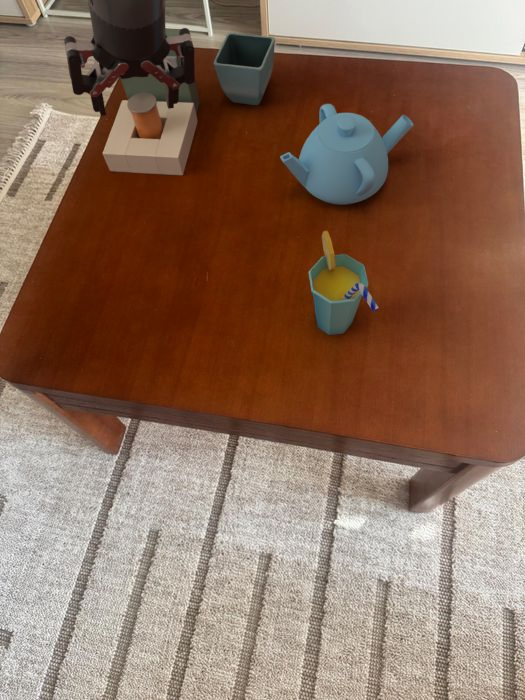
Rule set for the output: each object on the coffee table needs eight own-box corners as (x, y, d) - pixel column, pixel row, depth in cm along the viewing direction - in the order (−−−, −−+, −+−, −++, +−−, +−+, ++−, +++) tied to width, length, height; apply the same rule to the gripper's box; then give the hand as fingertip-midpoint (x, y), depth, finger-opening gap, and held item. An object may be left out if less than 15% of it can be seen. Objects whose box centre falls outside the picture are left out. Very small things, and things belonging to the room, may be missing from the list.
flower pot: (233, 77, 101) (227, 31, 93) (278, 82, 99) (275, 36, 91) (219, 108, 97) (212, 63, 89) (265, 114, 96) (262, 69, 88)
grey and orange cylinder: (146, 158, 93) (131, 116, 85) (139, 141, 95) (123, 97, 87) (172, 150, 93) (159, 106, 85) (164, 132, 95) (151, 88, 87)
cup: (387, 349, 73) (406, 291, 60) (339, 374, 72) (348, 321, 59) (334, 277, 79) (341, 209, 66) (289, 299, 78) (287, 234, 64)
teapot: (383, 225, 83) (394, 171, 73) (280, 200, 86) (277, 146, 76) (407, 156, 89) (420, 98, 79) (309, 136, 93) (310, 78, 82)
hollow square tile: (109, 171, 92) (102, 153, 88) (128, 118, 98) (122, 99, 94) (183, 175, 90) (178, 157, 87) (197, 121, 96) (193, 102, 92)
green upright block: (132, 117, 98) (107, 44, 85) (138, 100, 100) (114, 27, 87) (195, 119, 96) (179, 46, 84) (199, 103, 98) (184, 28, 86)
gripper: (189, -40, 54) (184, 76, 69) (43, -34, 51) (72, 86, 66) (205, 20, 52) (197, 125, 68) (57, 31, 49) (84, 138, 65)
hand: (135, 106), depth 67 cm, fingers open, 8 cm apart
